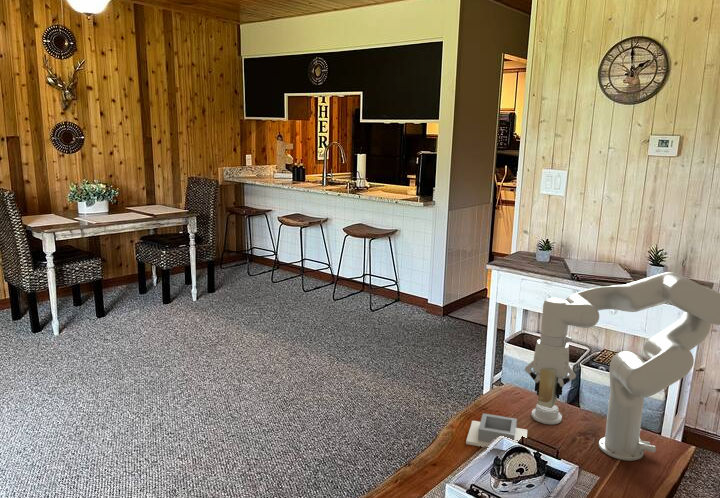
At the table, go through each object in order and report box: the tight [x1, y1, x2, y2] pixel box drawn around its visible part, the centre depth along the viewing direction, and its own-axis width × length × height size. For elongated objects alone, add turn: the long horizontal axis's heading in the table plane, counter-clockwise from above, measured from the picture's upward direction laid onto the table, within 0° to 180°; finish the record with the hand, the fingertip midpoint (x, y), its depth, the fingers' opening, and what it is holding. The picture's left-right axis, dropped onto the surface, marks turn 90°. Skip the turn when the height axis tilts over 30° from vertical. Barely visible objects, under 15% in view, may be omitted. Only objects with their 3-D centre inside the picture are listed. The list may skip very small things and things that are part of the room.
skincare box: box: [537, 368, 559, 408], centre depth 171 cm, size 6×4×12 cm
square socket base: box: [465, 412, 528, 448], centre depth 180 cm, size 18×14×5 cm
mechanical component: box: [531, 403, 563, 425], centre depth 193 cm, size 10×4×10 cm
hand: (547, 394), depth 172 cm, fingers closed on skincare box, 5 cm apart
